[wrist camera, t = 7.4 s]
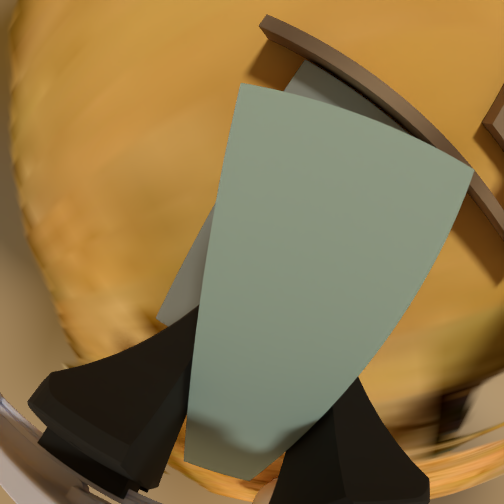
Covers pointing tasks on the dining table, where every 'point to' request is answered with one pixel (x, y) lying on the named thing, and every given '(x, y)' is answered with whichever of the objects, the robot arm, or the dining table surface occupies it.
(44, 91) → the dining table surface
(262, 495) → the lidded jar
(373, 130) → the pale green block
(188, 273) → the mat
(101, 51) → the dining table surface
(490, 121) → the rack
